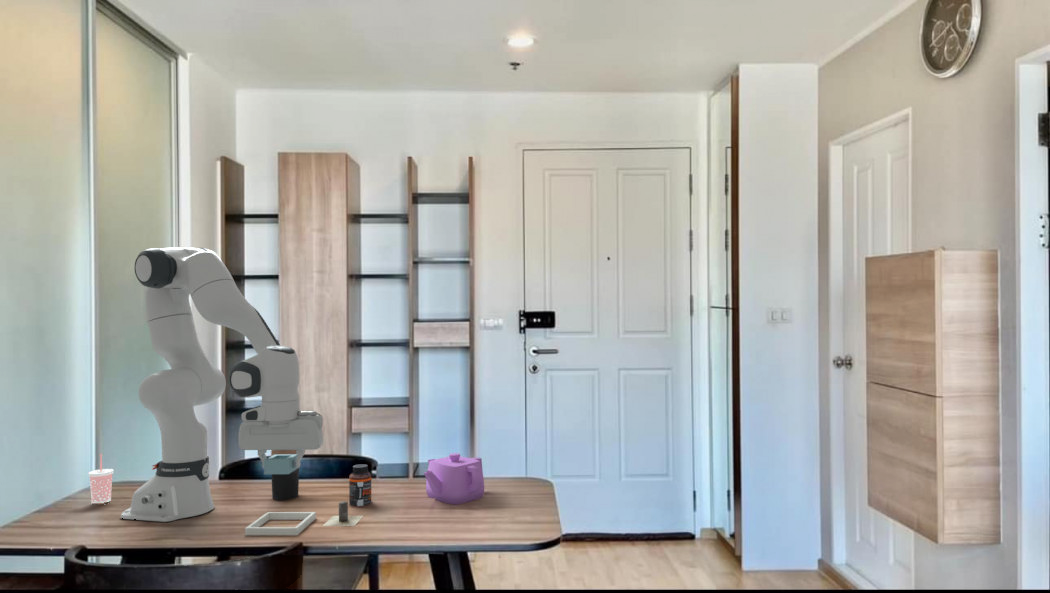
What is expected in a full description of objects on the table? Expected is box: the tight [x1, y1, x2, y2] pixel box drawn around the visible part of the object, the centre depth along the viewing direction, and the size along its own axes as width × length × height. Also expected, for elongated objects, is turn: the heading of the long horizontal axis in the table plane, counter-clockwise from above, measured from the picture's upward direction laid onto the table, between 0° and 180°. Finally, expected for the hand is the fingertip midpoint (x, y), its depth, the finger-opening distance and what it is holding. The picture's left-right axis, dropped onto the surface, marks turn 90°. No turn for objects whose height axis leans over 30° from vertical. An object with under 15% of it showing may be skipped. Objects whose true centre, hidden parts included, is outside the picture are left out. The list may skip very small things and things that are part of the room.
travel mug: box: [270, 450, 300, 501], centre depth 197 cm, size 8×8×20 cm
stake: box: [322, 500, 364, 527], centre depth 171 cm, size 8×8×6 cm
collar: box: [263, 454, 298, 475], centre depth 168 cm, size 6×7×4 cm
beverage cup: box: [88, 453, 114, 504], centre depth 193 cm, size 6×6×14 cm
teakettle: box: [423, 452, 485, 506], centre depth 195 cm, size 17×17×12 cm
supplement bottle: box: [348, 463, 372, 508], centre depth 186 cm, size 6×6×11 cm
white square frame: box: [244, 511, 317, 536], centre depth 167 cm, size 13×13×3 cm
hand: (281, 467), depth 167 cm, fingers closed on collar, 6 cm apart
